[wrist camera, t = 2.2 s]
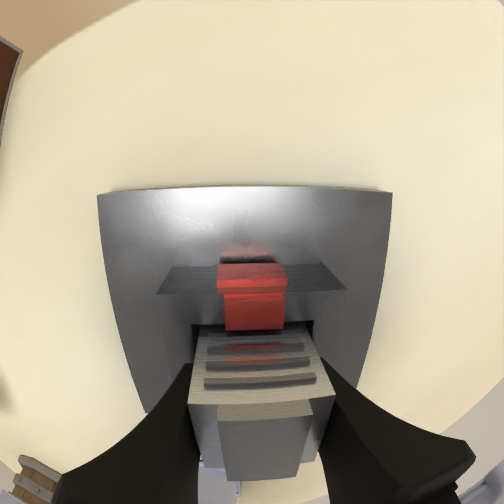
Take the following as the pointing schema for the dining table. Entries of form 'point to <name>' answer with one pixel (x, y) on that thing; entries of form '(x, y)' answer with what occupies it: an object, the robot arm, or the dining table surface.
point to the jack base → (242, 270)
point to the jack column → (258, 400)
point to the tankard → (35, 482)
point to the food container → (7, 74)
